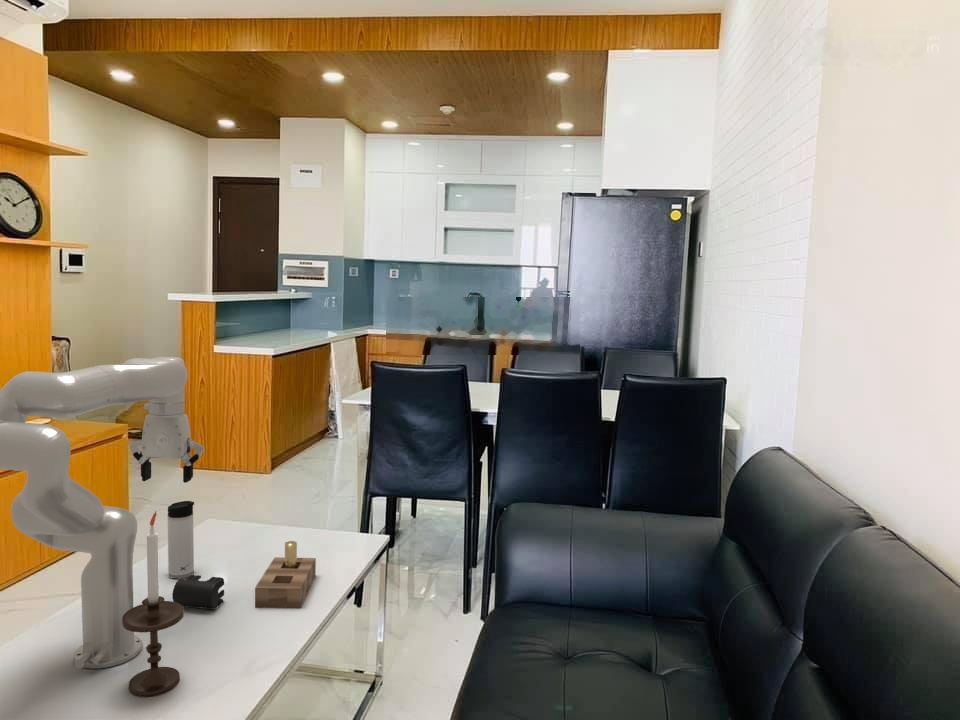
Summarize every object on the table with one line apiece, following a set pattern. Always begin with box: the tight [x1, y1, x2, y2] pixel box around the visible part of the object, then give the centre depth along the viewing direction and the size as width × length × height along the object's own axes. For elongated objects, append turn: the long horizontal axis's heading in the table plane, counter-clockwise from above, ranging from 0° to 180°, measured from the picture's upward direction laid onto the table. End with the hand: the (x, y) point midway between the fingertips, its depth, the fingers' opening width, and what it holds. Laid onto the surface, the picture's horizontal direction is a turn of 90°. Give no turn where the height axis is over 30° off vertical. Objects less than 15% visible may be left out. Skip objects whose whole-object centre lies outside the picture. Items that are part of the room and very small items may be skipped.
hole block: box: [254, 556, 317, 609], centre depth 178 cm, size 19×11×5 cm, turn 3°
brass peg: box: [284, 540, 298, 569], centre depth 182 cm, size 3×3×11 cm
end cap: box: [172, 574, 225, 610], centre depth 168 cm, size 10×7×7 cm
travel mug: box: [167, 500, 195, 579], centre depth 185 cm, size 6×7×20 cm
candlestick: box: [122, 510, 185, 698], centre depth 134 cm, size 11×11×35 cm
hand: (167, 480), depth 164 cm, fingers open, 9 cm apart
